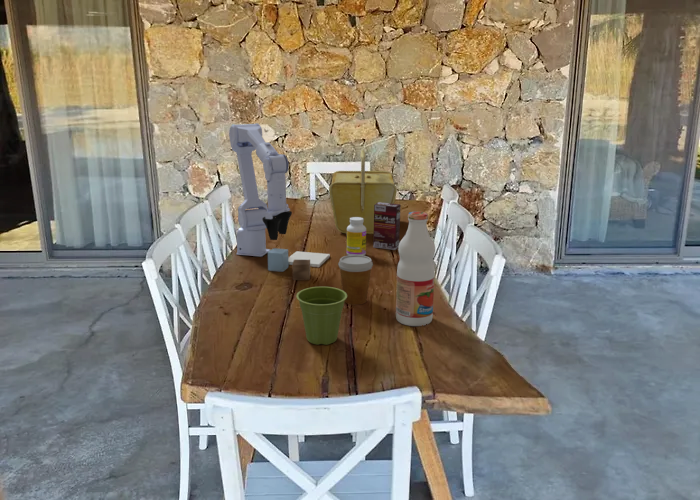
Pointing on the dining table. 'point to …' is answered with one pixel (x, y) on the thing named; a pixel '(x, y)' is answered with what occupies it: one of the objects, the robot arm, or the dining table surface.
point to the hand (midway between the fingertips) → (278, 236)
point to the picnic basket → (359, 195)
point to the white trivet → (309, 258)
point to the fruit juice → (415, 273)
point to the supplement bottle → (356, 237)
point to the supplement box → (386, 225)
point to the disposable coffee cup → (355, 277)
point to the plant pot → (321, 313)
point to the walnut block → (301, 269)
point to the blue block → (278, 260)
